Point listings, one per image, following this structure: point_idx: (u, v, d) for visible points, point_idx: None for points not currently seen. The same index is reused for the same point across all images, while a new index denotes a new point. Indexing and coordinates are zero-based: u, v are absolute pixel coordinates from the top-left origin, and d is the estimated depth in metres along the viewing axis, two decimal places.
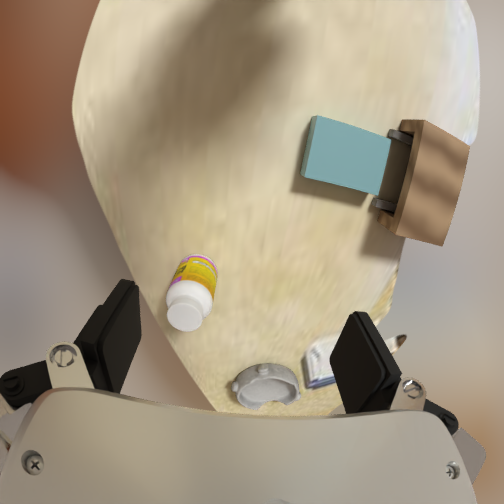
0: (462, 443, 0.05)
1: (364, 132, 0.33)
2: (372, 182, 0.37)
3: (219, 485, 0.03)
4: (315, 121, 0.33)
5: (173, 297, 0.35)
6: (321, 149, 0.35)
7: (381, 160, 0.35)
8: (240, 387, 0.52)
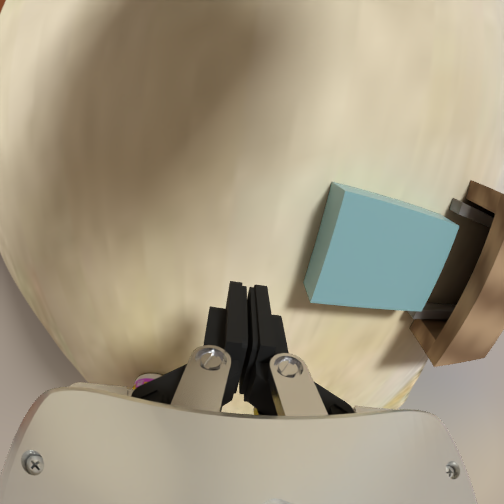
0: None
1: (423, 218, 0.18)
2: (418, 295, 0.21)
3: (219, 485, 0.03)
4: (339, 201, 0.18)
5: None
6: (346, 255, 0.19)
7: (438, 261, 0.20)
8: None
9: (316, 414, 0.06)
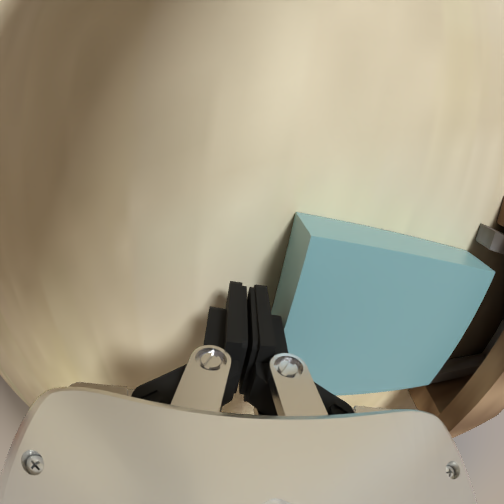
0: None
1: (448, 269, 0.10)
2: (427, 369, 0.13)
3: (219, 485, 0.03)
4: (302, 253, 0.10)
5: None
6: (315, 338, 0.11)
7: (461, 324, 0.12)
8: None
9: (316, 414, 0.06)
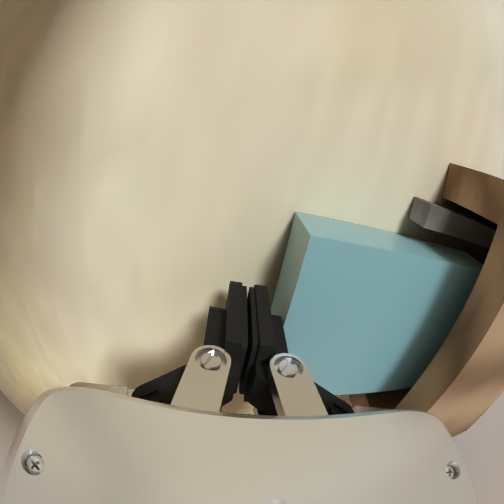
0: None
1: (446, 270, 0.10)
2: None
3: (219, 485, 0.03)
4: (302, 252, 0.10)
5: None
6: (313, 338, 0.11)
7: None
8: None
9: (316, 414, 0.06)
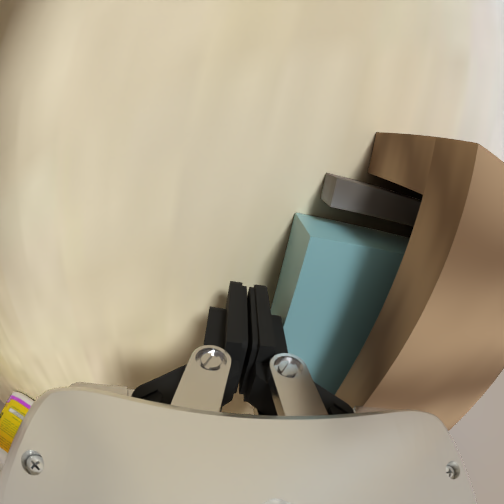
0: None
1: None
2: None
3: (219, 485, 0.03)
4: (302, 253, 0.10)
5: None
6: (313, 339, 0.11)
7: None
8: None
9: (316, 414, 0.06)
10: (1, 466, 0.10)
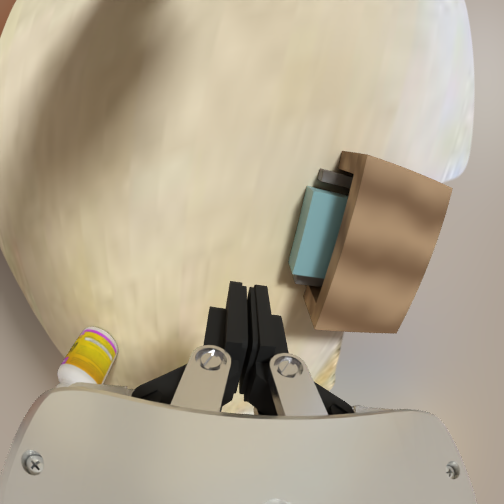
0: None
1: None
2: None
3: (219, 485, 0.03)
4: (310, 198, 0.26)
5: (60, 378, 0.26)
6: (317, 238, 0.27)
7: None
8: None
9: (316, 414, 0.06)
10: None
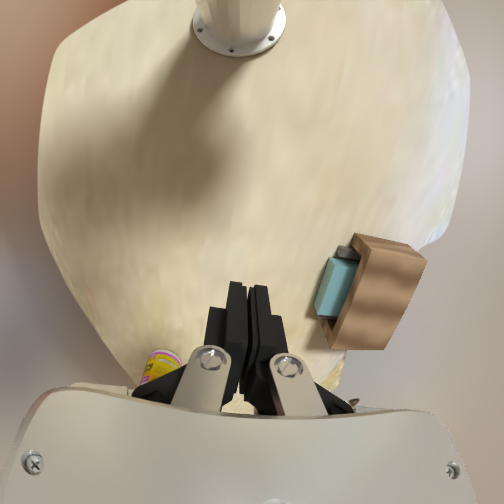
0: None
1: None
2: None
3: (219, 485, 0.03)
4: (332, 269, 0.40)
5: None
6: (334, 293, 0.41)
7: None
8: None
9: (316, 414, 0.06)
10: None
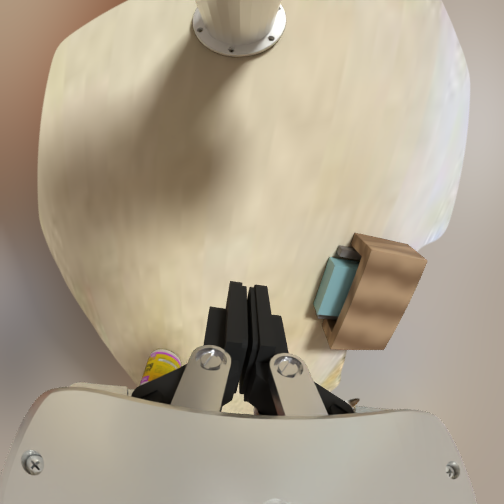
0: None
1: None
2: None
3: (219, 485, 0.03)
4: (332, 269, 0.40)
5: None
6: (334, 293, 0.41)
7: None
8: None
9: (316, 414, 0.06)
10: None
